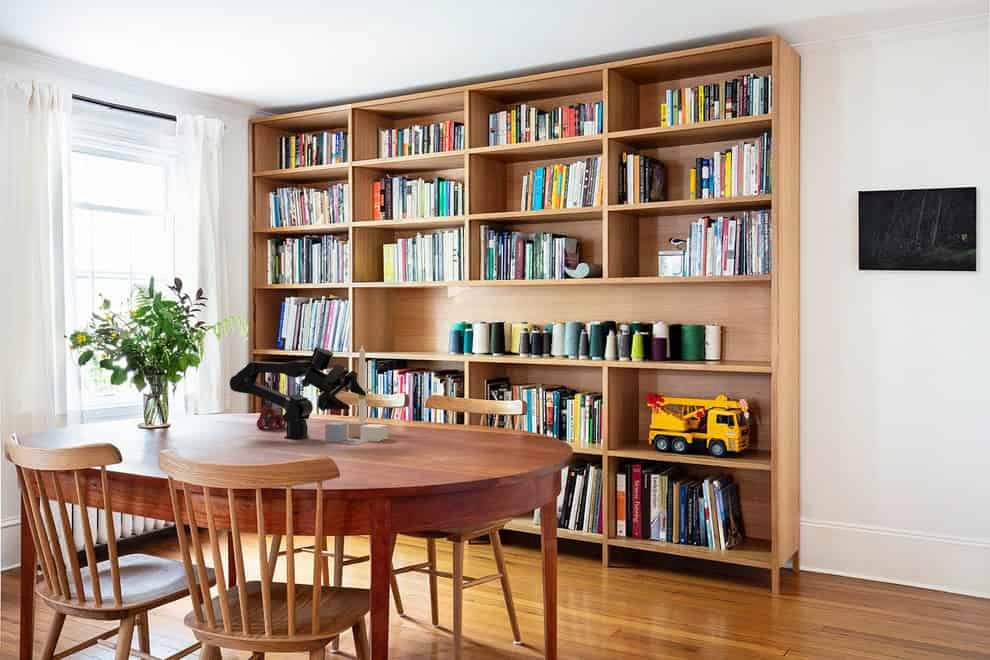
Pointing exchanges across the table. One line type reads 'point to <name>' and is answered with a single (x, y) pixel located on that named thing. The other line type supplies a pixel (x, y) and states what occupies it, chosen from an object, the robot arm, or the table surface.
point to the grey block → (335, 432)
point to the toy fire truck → (271, 417)
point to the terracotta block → (354, 429)
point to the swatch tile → (355, 441)
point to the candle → (362, 386)
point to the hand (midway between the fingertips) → (357, 401)
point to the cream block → (373, 432)
